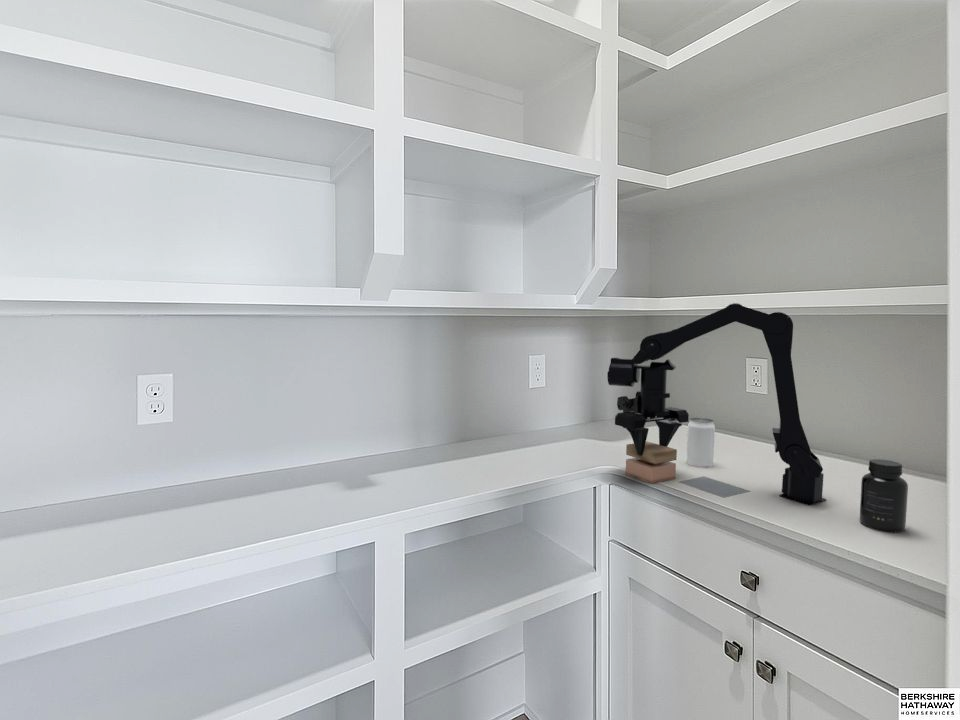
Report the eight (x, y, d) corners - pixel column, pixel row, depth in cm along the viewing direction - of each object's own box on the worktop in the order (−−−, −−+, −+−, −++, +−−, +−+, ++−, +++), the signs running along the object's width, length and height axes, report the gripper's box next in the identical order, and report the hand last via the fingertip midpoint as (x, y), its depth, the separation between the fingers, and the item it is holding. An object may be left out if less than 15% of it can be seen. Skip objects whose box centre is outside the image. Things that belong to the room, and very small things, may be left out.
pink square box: (675, 480, 124) (675, 463, 124) (650, 485, 120) (651, 467, 120) (649, 471, 131) (649, 455, 131) (625, 475, 127) (626, 459, 127)
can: (684, 466, 136) (686, 420, 135) (687, 460, 141) (689, 416, 140) (712, 470, 133) (714, 423, 132) (714, 463, 138) (716, 418, 137)
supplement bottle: (863, 516, 102) (867, 455, 101) (908, 526, 97) (913, 462, 96) (854, 525, 98) (859, 461, 97) (901, 536, 93) (906, 469, 92)
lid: (676, 460, 123) (676, 449, 123) (654, 463, 120) (655, 453, 119) (647, 451, 131) (647, 441, 131) (626, 454, 127) (626, 444, 127)
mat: (750, 492, 115) (750, 490, 115) (723, 499, 111) (723, 497, 111) (703, 478, 126) (703, 476, 126) (677, 483, 122) (677, 481, 122)
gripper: (655, 382, 135) (653, 442, 137) (599, 386, 126) (597, 450, 128) (691, 387, 126) (688, 451, 127) (633, 392, 117) (631, 461, 118)
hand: (651, 453), depth 125 cm, fingers closed on lid, 7 cm apart
